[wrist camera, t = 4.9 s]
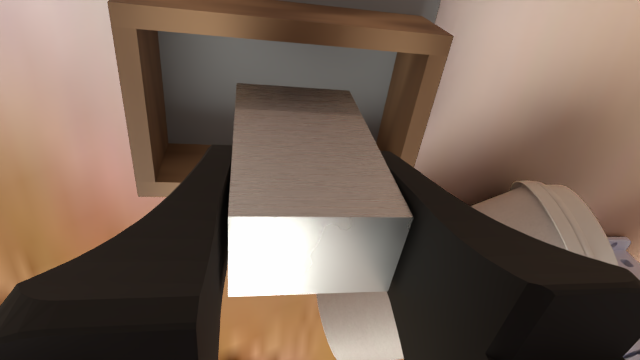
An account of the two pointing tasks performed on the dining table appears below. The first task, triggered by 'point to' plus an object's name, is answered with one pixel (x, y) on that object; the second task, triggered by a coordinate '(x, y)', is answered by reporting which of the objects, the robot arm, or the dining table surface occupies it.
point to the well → (272, 25)
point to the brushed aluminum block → (309, 196)
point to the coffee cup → (509, 208)
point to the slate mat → (270, 73)
